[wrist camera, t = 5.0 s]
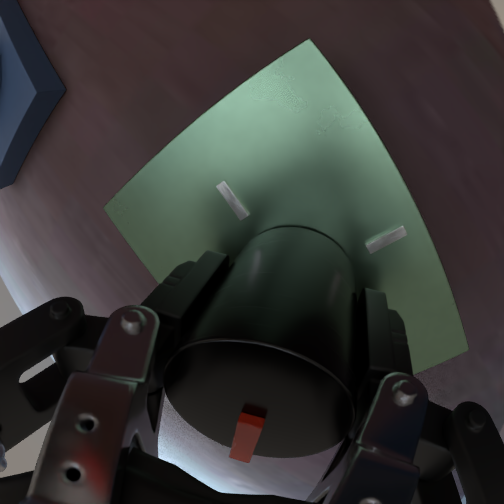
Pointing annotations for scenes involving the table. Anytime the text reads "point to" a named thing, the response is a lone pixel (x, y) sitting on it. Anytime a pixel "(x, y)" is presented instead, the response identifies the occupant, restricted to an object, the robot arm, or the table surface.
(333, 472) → the robot arm
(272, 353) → the knob
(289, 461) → the table surface
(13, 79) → the button box
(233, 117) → the panel
